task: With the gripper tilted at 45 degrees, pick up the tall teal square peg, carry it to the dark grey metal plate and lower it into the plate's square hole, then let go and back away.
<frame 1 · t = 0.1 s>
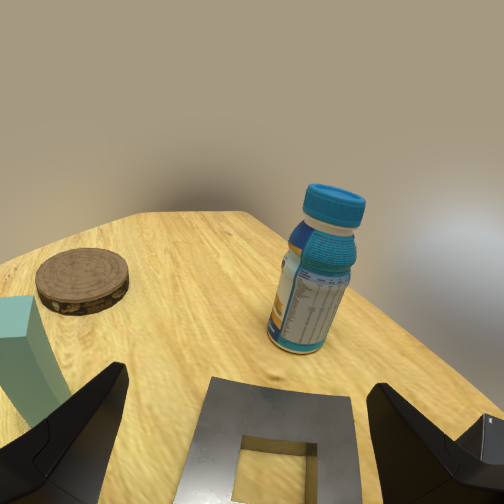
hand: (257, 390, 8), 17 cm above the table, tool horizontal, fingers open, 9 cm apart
square-hole plate: (269, 481, 17), on the table
wood slice: (83, 287, 37), on the table
small box: (443, 500, 12), on the table
beverage bottle: (295, 336, 37), on the table
teal peg: (58, 419, 17), on the table
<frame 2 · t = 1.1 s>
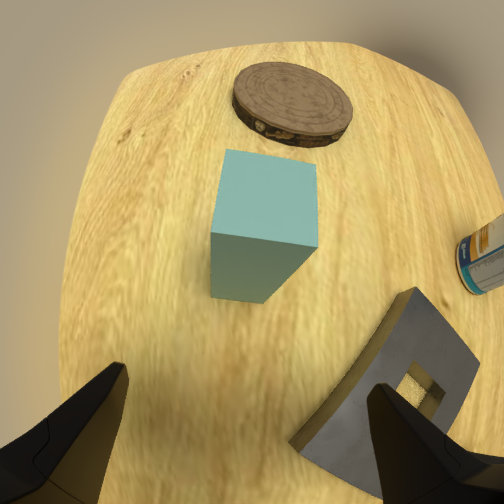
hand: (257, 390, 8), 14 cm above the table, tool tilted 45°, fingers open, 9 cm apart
square-hole plate: (396, 403, 21), on the table
wood slice: (290, 108, 34), on the table
beverage bottle: (470, 267, 29), on the table
teal peg: (239, 275, 24), on the table
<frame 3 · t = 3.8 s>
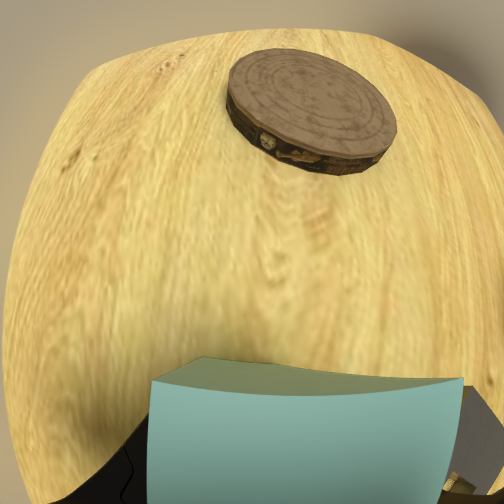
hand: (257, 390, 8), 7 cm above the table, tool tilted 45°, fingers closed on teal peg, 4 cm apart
square-hole plate: (422, 502, 11), on the table
wood slice: (308, 113, 24), on the table
teal peg: (236, 397, 14), on the table, touching gripper
when the fingers open (7 cm above the table, at t = 9.2 s): teal peg stays where it is, resting in square-hole plate.
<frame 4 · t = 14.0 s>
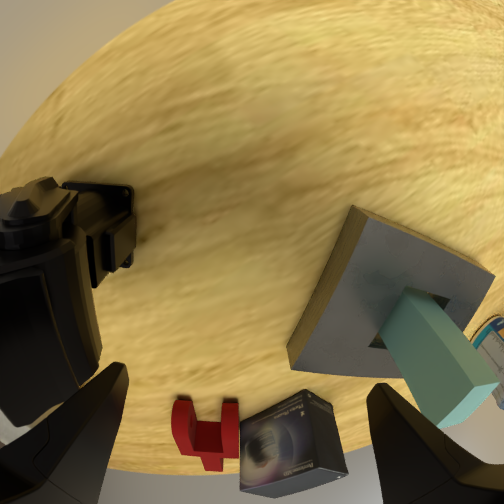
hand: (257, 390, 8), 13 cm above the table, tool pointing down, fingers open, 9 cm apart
decorative bowl: (24, 358, 26), on the table
square-hole plate: (397, 304, 23), on the table
mechanical linkage: (212, 425, 31), on the table
small box: (284, 413, 30), on the table
beverage bottle: (483, 336, 27), on the table
teal peg: (398, 304, 23), resting in square-hole plate
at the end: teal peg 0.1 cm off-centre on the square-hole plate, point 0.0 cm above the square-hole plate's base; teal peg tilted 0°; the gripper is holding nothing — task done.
